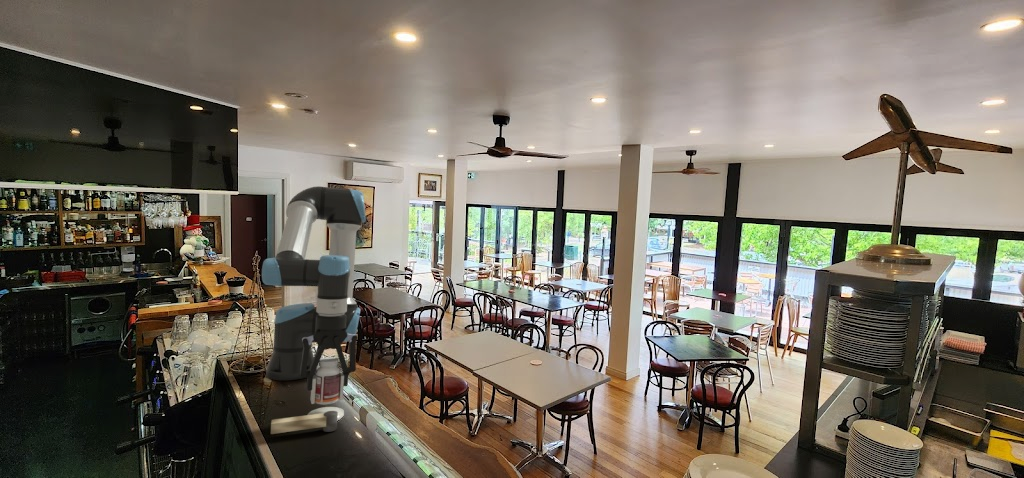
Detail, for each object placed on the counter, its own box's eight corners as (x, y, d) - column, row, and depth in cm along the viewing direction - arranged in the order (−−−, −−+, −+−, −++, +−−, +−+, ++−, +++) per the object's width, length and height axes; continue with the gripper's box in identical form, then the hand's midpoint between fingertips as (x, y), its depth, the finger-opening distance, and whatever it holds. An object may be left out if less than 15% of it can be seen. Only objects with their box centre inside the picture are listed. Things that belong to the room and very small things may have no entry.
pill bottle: (342, 397, 118) (344, 356, 118) (334, 406, 112) (336, 363, 112) (319, 395, 118) (321, 355, 118) (309, 404, 111) (312, 362, 111)
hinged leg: (336, 425, 110) (337, 410, 110) (337, 430, 107) (338, 415, 107) (270, 434, 103) (271, 418, 103) (270, 440, 100) (271, 423, 100)
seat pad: (305, 413, 116) (305, 409, 116) (340, 408, 121) (341, 404, 121) (308, 427, 108) (309, 423, 108) (346, 421, 113) (346, 417, 113)
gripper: (292, 317, 106) (286, 411, 106) (371, 314, 116) (366, 400, 116) (290, 312, 113) (285, 400, 113) (365, 309, 122) (361, 390, 123)
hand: (326, 399), depth 114 cm, fingers closed on pill bottle, 6 cm apart
